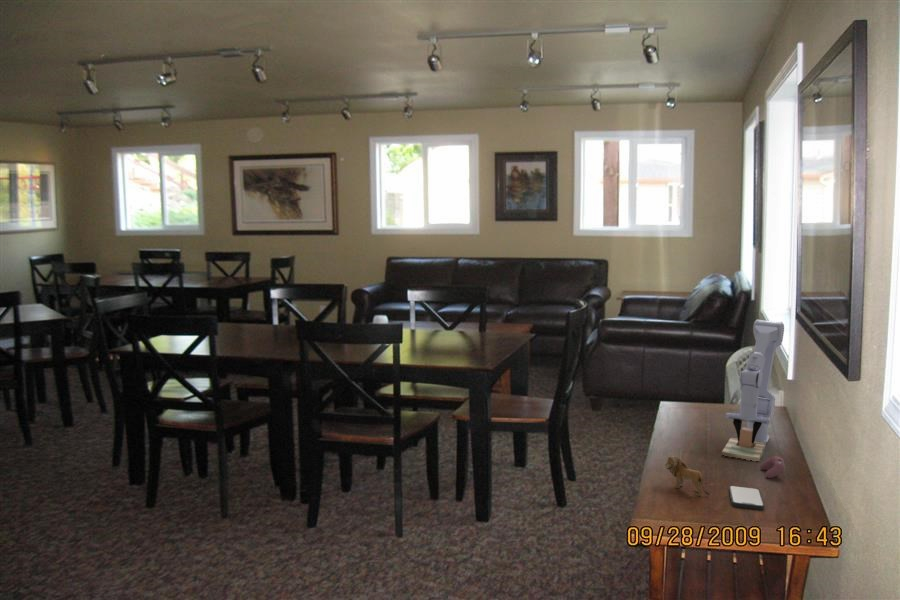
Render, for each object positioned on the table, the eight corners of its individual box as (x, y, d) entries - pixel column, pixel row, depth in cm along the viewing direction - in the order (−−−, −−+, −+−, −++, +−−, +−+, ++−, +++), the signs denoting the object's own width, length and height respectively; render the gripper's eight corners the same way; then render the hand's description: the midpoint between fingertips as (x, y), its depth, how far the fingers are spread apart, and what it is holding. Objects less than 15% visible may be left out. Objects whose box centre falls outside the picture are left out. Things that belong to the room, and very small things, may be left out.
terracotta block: (740, 446, 292) (741, 427, 291) (752, 448, 290) (753, 428, 290) (738, 449, 289) (740, 429, 288) (750, 451, 287) (752, 431, 286)
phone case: (728, 490, 248) (731, 507, 232) (728, 485, 247) (732, 502, 232) (759, 494, 245) (764, 511, 230) (759, 488, 245) (765, 506, 230)
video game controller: (777, 484, 257) (789, 465, 256) (764, 476, 258) (776, 458, 257) (771, 474, 267) (783, 456, 266) (758, 467, 267) (770, 449, 266)
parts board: (730, 441, 298) (730, 437, 297) (765, 447, 292) (765, 442, 292) (721, 455, 280) (721, 451, 280) (758, 461, 274) (759, 457, 274)
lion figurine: (660, 485, 248) (662, 456, 247) (670, 481, 252) (672, 453, 251) (705, 498, 238) (707, 468, 237) (714, 494, 241) (716, 465, 240)
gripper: (725, 403, 287) (722, 440, 289) (769, 409, 281) (766, 447, 282) (728, 399, 294) (726, 436, 295) (771, 404, 287) (768, 442, 289)
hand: (746, 441), depth 289 cm, fingers closed on terracotta block, 4 cm apart
